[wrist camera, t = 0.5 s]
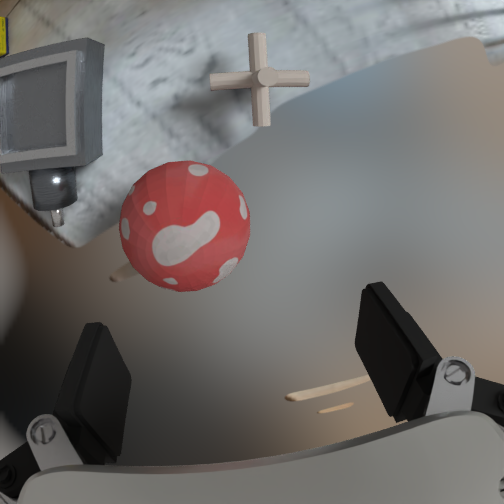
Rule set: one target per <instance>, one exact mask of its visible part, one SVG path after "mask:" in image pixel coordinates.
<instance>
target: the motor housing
mask: <svg viewBox="0 0 504 504" xmlns="http://www.w3.org/2000/svg"><path fill="white" fill-rule="evenodd" d="M104 46H105V45H104V44H102V43H100V42H97V41H95V40H92V39H90V38H82V39H76V40H71V41H66V42H61V43H56V44H52V45H47V46H43V47H39V48H35V49H31V50H27V51H24V52H20V53H17V54H14V55H10V56H7V57H4V58H1V59H0V164H1V172H2V174H3V173H11V172H19V171H28V170H29V177H30V185H31V192H32V199H33V206H34V209H35V210H38V211H50V210H51V216H52V222H53V226H54V227H60V226H62V225H64V217H63V210H62V208H63V207H66V206H69V205H71V204H73V203H74V202H76V201H77V199H78V198H77V188H76V178H75V166H86V165H87V164H89V163H90V162H92V161H93V160H95V159H96V158H98V157H100V156H101V155H103V153H102V79H103V60H104Z"/></svg>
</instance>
